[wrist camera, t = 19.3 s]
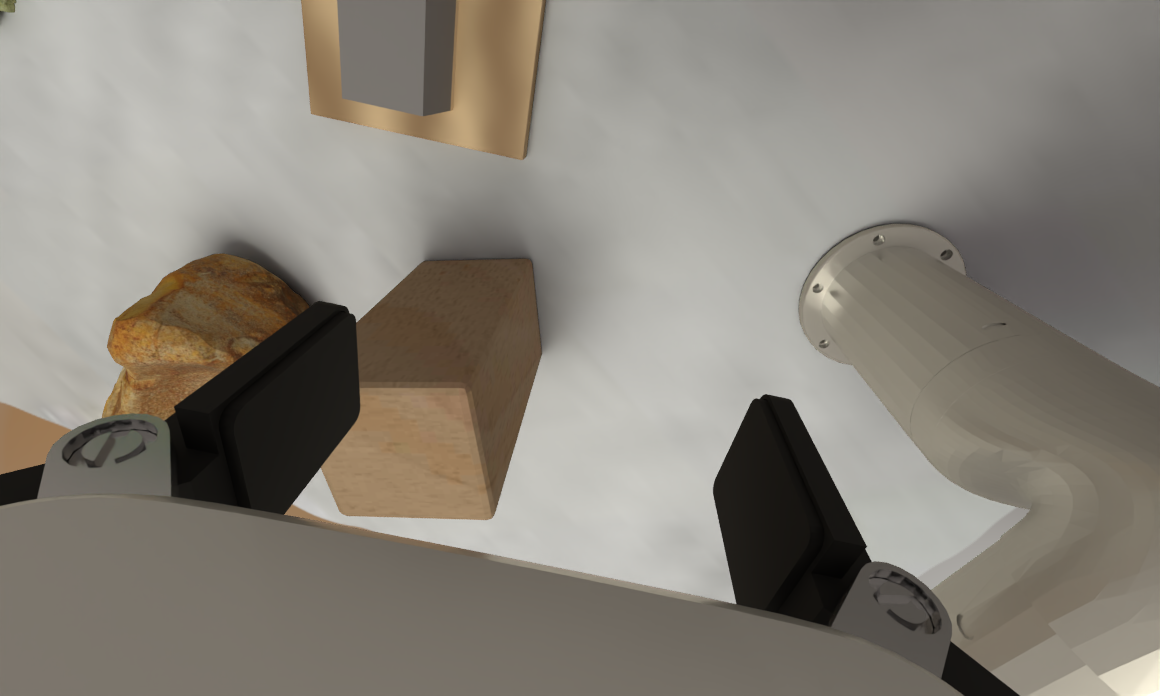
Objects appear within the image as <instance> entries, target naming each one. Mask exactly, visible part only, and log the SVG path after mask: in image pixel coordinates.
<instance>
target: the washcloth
mask: <svg viewBox="0 0 1160 696" xmlns="http://www.w3.org/2000/svg"><path fill="white" fill-rule="evenodd" d="M14 3H16V1H15V0H0V11H4V12H15V5H14Z"/></svg>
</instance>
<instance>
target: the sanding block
mask: <svg viewBox="0 0 1160 696" xmlns="http://www.w3.org/2000/svg"><path fill="white" fill-rule="evenodd" d="M337 8H338V27H339V47H340V66H341V86H342V98H343V99H347V100H352V101H356V102H360V103H365V104H369V105H374V106H378V107H383V108H387V109H392V110H396V111H401V112H405V113H409V114H414V115H418V116H428V115H432V114H437V113H442V112H447V111H452V110H453V101H454V83H455V65H456V46H457V28H458V10H459V0H337Z"/></svg>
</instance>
